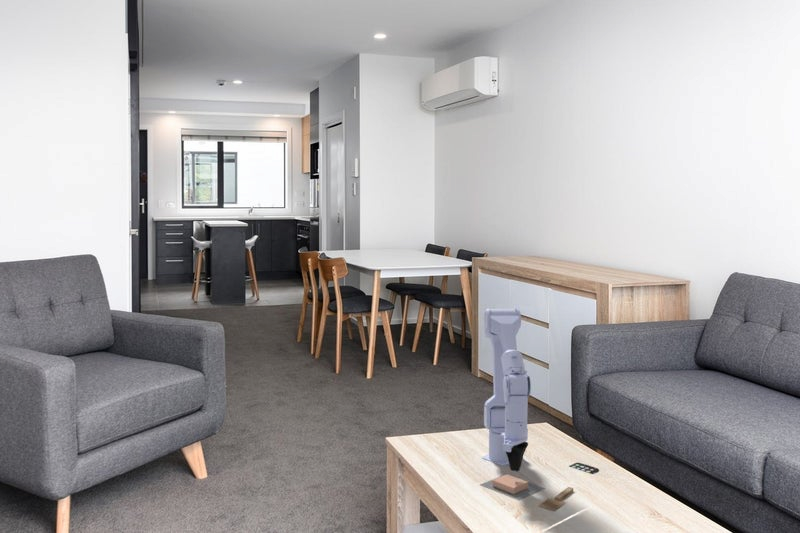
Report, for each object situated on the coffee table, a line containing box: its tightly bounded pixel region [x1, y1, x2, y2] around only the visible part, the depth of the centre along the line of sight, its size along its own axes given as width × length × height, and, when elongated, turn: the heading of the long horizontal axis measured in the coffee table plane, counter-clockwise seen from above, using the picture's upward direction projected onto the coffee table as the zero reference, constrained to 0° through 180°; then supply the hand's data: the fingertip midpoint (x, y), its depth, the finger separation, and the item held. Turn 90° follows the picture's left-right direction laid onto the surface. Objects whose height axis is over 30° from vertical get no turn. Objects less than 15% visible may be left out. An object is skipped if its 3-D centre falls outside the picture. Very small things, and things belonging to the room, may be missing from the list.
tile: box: [492, 473, 529, 494], centre depth 186 cm, size 2×7×6 cm
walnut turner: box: [537, 486, 574, 512], centre depth 179 cm, size 14×4×1 cm, turn 142°
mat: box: [479, 473, 546, 501], centre depth 187 cm, size 11×13×1 cm
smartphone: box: [568, 462, 599, 475], centre depth 197 cm, size 7×1×15 cm
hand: (515, 470), depth 187 cm, fingers closed
